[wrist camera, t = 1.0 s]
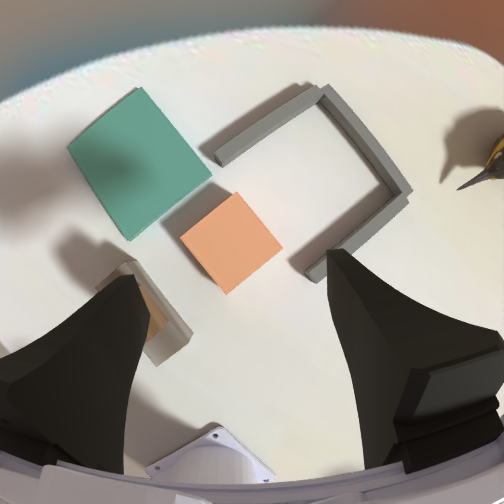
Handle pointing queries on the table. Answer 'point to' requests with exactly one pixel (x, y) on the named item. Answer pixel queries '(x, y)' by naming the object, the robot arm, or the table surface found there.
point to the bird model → (491, 165)
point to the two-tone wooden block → (155, 315)
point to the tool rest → (137, 163)
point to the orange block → (231, 243)
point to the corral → (361, 139)
